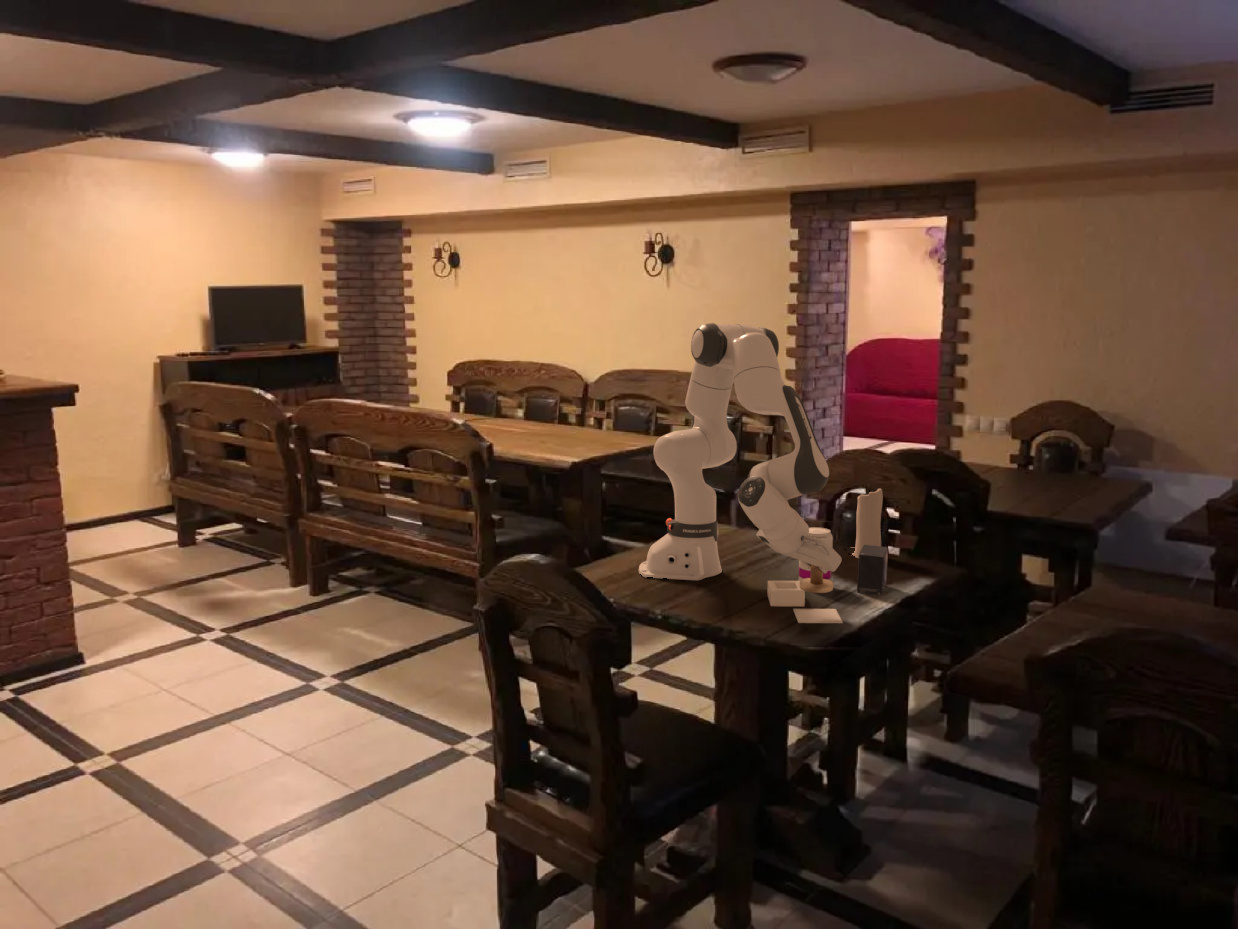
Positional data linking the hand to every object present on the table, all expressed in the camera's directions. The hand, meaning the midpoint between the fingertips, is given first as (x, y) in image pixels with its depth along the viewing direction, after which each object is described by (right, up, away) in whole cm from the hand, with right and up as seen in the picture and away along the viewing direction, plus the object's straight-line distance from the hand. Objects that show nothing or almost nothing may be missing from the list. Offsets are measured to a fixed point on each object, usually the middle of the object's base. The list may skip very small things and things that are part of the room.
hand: (819, 568), depth 228 cm
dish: (-6, -10, +13) cm, 17 cm away
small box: (+18, -8, +22) cm, 30 cm away
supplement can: (+4, -8, +25) cm, 26 cm away
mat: (0, -12, +1) cm, 12 cm away
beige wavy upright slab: (+23, -2, +57) cm, 61 cm away
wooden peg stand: (-1, -5, +1) cm, 5 cm away
